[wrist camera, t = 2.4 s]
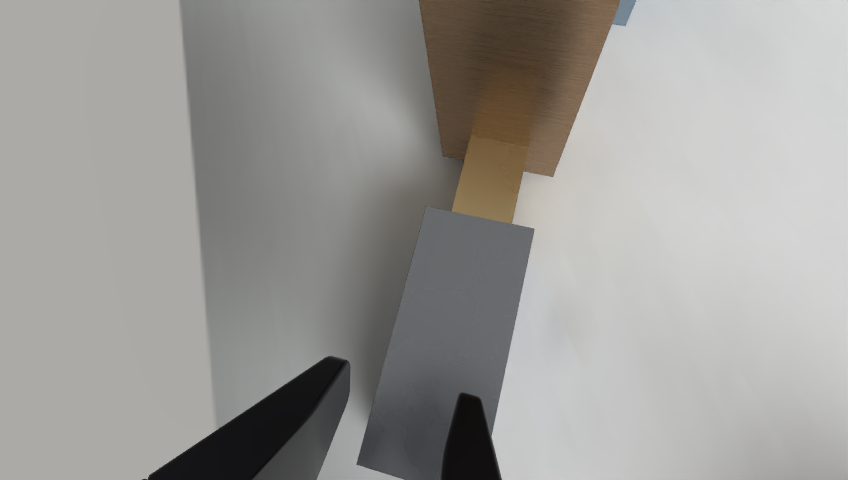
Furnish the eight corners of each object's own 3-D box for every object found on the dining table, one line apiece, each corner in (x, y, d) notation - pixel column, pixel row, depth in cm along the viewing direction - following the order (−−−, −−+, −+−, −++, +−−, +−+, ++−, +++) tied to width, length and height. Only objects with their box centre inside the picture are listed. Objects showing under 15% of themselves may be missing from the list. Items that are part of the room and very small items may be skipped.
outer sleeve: (477, 474, 20) (477, 502, 16) (381, 445, 21) (356, 464, 17) (523, 256, 23) (534, 228, 18) (435, 237, 24) (426, 206, 19)
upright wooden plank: (500, 433, 20) (527, 500, 9) (378, 398, 21) (275, 422, 10) (582, 31, 25) (661, -225, 14) (480, 17, 26) (482, -233, 15)
